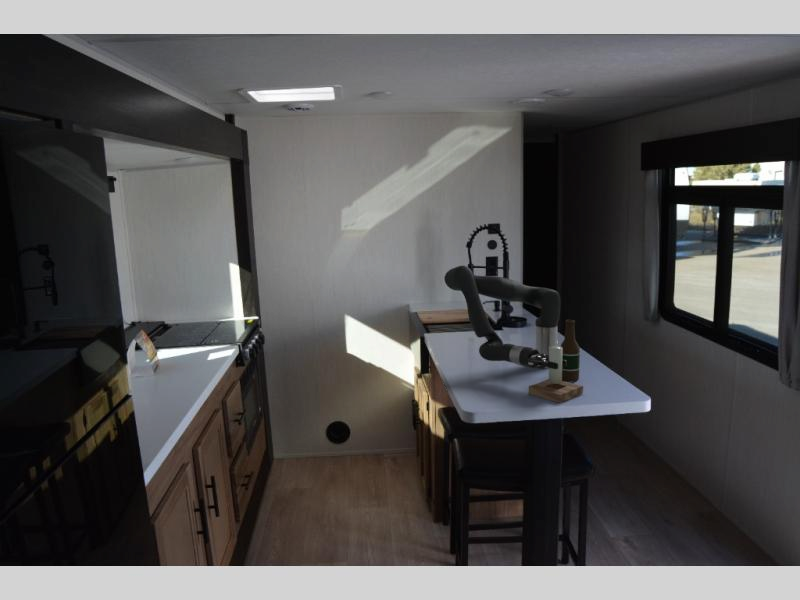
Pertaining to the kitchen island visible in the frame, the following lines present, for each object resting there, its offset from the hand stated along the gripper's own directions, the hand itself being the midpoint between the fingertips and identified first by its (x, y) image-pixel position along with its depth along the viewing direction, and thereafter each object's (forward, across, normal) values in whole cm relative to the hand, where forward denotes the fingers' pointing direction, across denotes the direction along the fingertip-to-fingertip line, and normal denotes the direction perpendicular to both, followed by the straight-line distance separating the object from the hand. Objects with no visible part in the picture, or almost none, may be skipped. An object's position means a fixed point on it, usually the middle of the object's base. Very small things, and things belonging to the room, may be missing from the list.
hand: (561, 365), depth 223 cm
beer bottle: (-9, +19, +12) cm, 24 cm away
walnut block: (-2, 0, +12) cm, 12 cm away
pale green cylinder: (-3, 0, +7) cm, 7 cm away
